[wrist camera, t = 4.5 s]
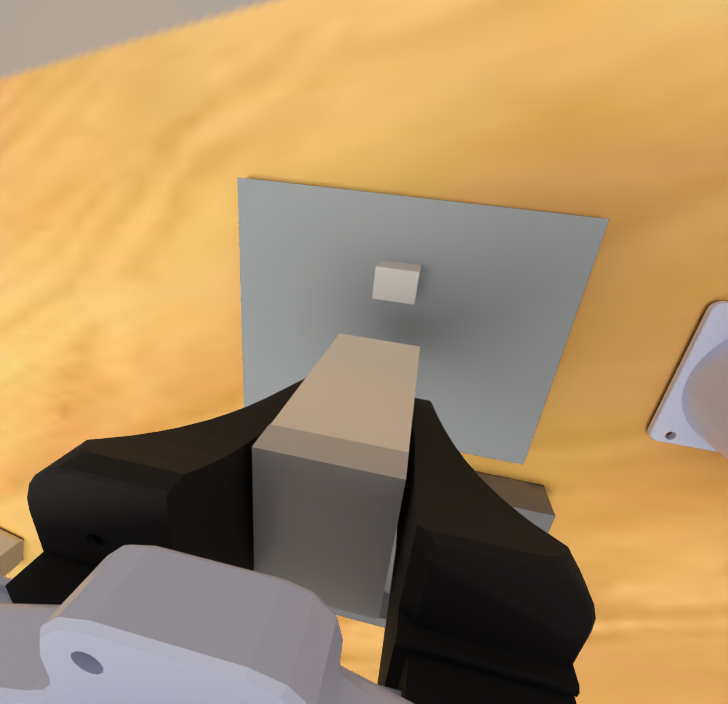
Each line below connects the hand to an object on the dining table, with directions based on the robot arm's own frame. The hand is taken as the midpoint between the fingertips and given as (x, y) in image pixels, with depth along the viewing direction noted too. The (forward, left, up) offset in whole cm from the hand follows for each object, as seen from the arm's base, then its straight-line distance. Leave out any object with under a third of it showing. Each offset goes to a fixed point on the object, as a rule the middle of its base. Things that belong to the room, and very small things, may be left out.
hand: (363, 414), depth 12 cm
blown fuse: (0, 0, -2) cm, 2 cm away
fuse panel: (0, 0, -10) cm, 10 cm away
